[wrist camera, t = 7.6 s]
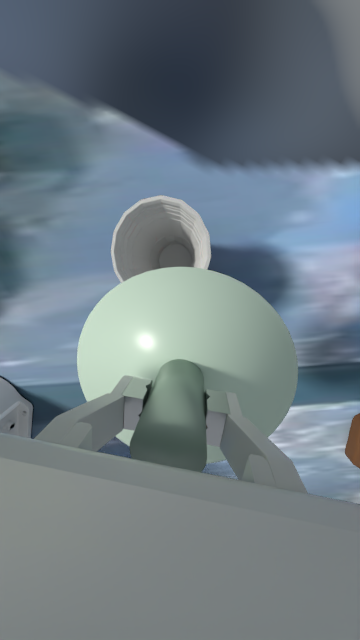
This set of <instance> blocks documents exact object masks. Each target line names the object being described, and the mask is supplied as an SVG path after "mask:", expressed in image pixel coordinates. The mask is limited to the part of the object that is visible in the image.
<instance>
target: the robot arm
mask: <svg viewBox="0 0 360 640" xmlns="http://www.w3.org/2000/svg"><path fill="white" fill-rule="evenodd" d="M152 384H153V381H152V380H151V379H146V378H140V377H135V376H129V375H124V376H123V377H122V378H121V380H120V381H119V382H118V384H117V385H116V386H115V388H114V389H113V390H112V392H111V393H110V394H109V393H107V394H104V395H102V396H100V397H98V398H96V399H93V400H91V401H89V402H87V403H85V404H82V405H80V406H78V407H76V408H74V409H71V410H69V411H67V412H65V413H62V414H60V415H58V416H56V417H55V418H54V419H53V420H52V421H51V422H50V423H49V424H48V425H47V426H46V427H45V428H44V429H43V430H42V431H41V432H40V433H39V434H38V435H37V436H36V437H35V438H34V439H31V427H32V413H33V406H32V404H31V403H30V402H29V401H27V400H26V399H25V398H23V397H22V396H21V395H20V394H19V393H18V392H17V391H16V389H15V388H14V387H13V386H12V385H11V384H10V383H8V382H7V381H6V380H4V379H2V378H0V640H360V504H357V503H352V502H347V501H342V500H337V499H332V498H327V497H322V496H317V495H312V494H308V493H307V491H306V489H305V487H304V485H303V483H302V481H301V479H300V476H299V474H298V472H297V470H296V468H295V466H294V464H293V462H292V461H291V460H290V459H289V458H288V457H287V456H286V455H285V454H284V453H283V452H282V451H281V450H280V449H279V448H278V447H277V446H276V445H275V444H274V443H272V442H271V441H270V440H269V439H268V438H267V437H266V436H265V435H264V434H263V433H262V432H261V431H260V430H259V429H258V428H257V427H256V426H255V425H254V424H252V423H251V422H250V421H249V420H248V419H247V418H246V417H243V415H242V412H241V409H240V405H239V402H238V399H237V395H236V393H232V392H223V391H216V390H210V389H206V390H205V417H206V439H207V444H208V445H212V446H217V447H220V449H221V451H222V453H223V454H224V456H225V458H226V459H227V461H228V463H229V464H230V466H231V468H232V469H233V471H234V473H235V474H236V476H237V478H238V479H239V480H236V479H231V478H226V477H221V476H216V475H211V474H206V473H201V472H197V471H192V470H187V469H182V468H176V467H171V466H166V465H161V464H156V463H151V462H146V461H141V460H136V459H131V458H126V457H121V456H116V455H111V454H106V453H101V452H97V451H98V450H99V449H100V448H102V447H103V446H104V445H105V444H107V443H108V442H109V441H110V440H111V439H113V438H114V437H115V436H116V435H117V434H119V433H120V432H121V431H122V430H123V429H127V430H133V431H135V428H136V426H137V423H138V421H139V419H140V416H141V414H142V411H143V409H144V406H145V404H146V402H147V399H148V397H149V394H150V391H151V389H152Z"/></svg>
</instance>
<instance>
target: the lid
mask: <svg viewBox="0 0 360 640" xmlns="http://www.w3.org/2000/svg"><path fill="white" fill-rule="evenodd" d="M77 367H78V376H79V380H80V384H81V388H82V390H83V393H84V395H85V398H86V400H87V402H89V401H91V400H93V399H96V398H98V397H100V396H102V395H104V394H107V393H109V394H110V393H111V392H112V390H113V389H114V388H115V386H116V385H117V384H118V382H119V381H120V380H121V378H122V377H123V376H124V375H129V376H135V377H140V378H146V379H151V380H152V381H153V384H152V389H151V391H150V394H149V397H148V399H147V402H146V404H145V406H144V409H143V411H142V414H141V416H140V419H139V421H138V423H137V426H136V428H135V431H133V430H127V429H123V430H122V431H121V432H120V433H119V434H117V435H116V437H117V438H118V439H120V440H121V441H122V442H124V443H125V444H127V445H128V446H130V454H131V457H132V459H136V460H141V461H146V462H151V463H156V464H161V465H166V466H171V467H176V468H182V469H187V470H192V471H197V472H202V470H203V469H204V467H205V465H206V464H207V463H214V462H220V461H223V460H227V459H226V458H225V456H224V454H223V453H222V451H221V449H220V447H217V446H212V445H208V444H207V439H206V417H205V390H206V389H210V390H216V391H223V392H232V393H236V395H237V399H238V402H239V405H240V409H241V412H242V415H243V417H246V418H247V419H248V420H249V421H250V422H251V423H252V424H254V425H255V426H256V427H257V428H258V429H259V430H260V431H261V432H262V433H263V434H264V435H265V436H266V437H269V436H270V435H271V434H272V433H273V432H274V431H275V430H276V428H277V427H278V426H279V425H280V424H281V422H282V421H283V419H284V417H285V416H286V414H287V413H288V411H289V408H290V406H291V404H292V401H293V399H294V395H295V391H296V387H297V379H298V364H297V356H296V351H295V347H294V343H293V341H292V338H291V336H290V333H289V331H288V329H287V327H286V325H285V324H284V322H283V320H282V319H281V317H280V316H279V315H278V313H277V312H276V311H275V310H274V308H273V307H272V306H271V305H270V304H269V303H268V302H267V301H266V300H265V299H264V298H263V297H262V296H261V295H260V294H258V293H257V292H256V291H254V290H253V289H251V288H250V287H248V286H247V285H245V284H244V283H242V282H240V281H238V280H236V279H234V278H232V277H230V276H227V275H224V274H221V273H218V272H215V271H212V270H206V269H201V268H196V267H168V268H160V269H156V270H151V271H147V272H144V273H142V274H139V275H136V276H134V277H131V278H130V279H128V280H126V281H124V282H122V283H121V284H119V285H117V286H116V287H115V288H114V289H112V290H111V291H110V292H108V293H107V294H106V295H105V296H104V297H103V298H102V299H101V300H100V301H99V302H98V303H97V305H96V306H95V308H94V309H93V310H92V312H91V313H90V315H89V317H88V319H87V321H86V323H85V325H84V327H83V330H82V333H81V336H80V339H79V345H78V350H77Z"/></svg>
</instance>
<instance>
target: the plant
mask: <svg viewBox="0 0 360 640" xmlns="http://www.w3.org/2000/svg"><path fill="white" fill-rule="evenodd" d="M345 454H346V456H347V457H348V458H349V459H350V461H351V462H352V463H353V464H354V465H355V466H357V467H358V468H360V413H359V414H357V415H356V416H354V418H353V420H352V424H351V428H350V432H349V437H348V441H347V444H346V449H345Z"/></svg>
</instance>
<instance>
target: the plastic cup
mask: <svg viewBox="0 0 360 640" xmlns="http://www.w3.org/2000/svg"><path fill="white" fill-rule="evenodd" d="M111 256H112V261H113V266H114V271H115V273H116V275H117V276H118V278H119V280H120V282H121V283H122V282H124V281H126V280H128V279H130V278H131V277H134V276H136V275H139V274H142V273H144V272H147V271H151V270H156V269H160V268H168V267H196V268H201V269H206V270H207V269H208V266H209V262H210V259H211V249H210V237H209V233H208V231H207V229H206V227H205V225H204V223H203V221H202V219H201V217H200V215H199V214H198V213H197V212H196V211H195V210H193V209H192V208H191V207H190V206H188V205H187V204H186V203H185V202H184V201H182V200H179V199H175V198H171V197H167V196H163V195H160V196H155V197H151V198H146V199H142V200H140V201H139V202H137V203H136V204H135V205H133V206H132V207H131V208H130V209H128V210H127V211H126V212H124V214H123V216H122V217H121V219H120V221H119V223H118V225H117V226H116V228H115V230H114V234H113V240H112V246H111Z"/></svg>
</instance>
